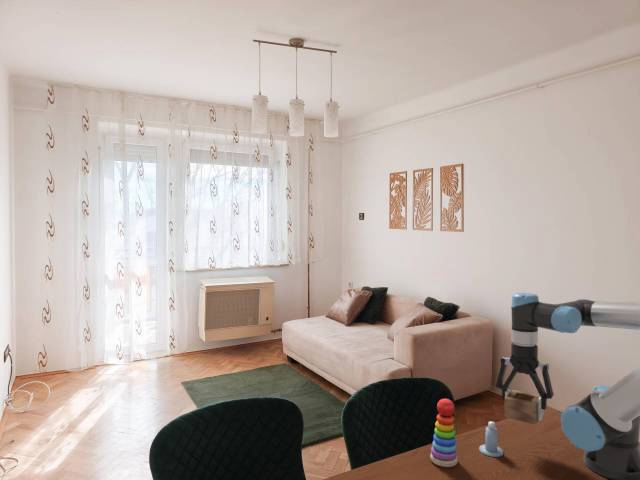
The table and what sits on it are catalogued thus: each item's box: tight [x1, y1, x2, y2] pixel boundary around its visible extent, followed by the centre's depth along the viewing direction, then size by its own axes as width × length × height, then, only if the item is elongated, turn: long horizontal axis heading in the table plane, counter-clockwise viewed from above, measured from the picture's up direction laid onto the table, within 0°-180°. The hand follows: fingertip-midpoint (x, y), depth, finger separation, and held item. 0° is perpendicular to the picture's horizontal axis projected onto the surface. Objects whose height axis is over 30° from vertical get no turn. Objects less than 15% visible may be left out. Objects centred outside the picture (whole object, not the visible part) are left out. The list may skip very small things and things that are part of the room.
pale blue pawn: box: [478, 421, 504, 458], centre depth 144 cm, size 7×7×9 cm
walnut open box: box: [503, 389, 540, 426], centre depth 144 cm, size 9×9×6 cm
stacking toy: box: [429, 398, 459, 468], centre depth 137 cm, size 8×8×19 cm
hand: (523, 414), depth 144 cm, fingers closed on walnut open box, 9 cm apart
